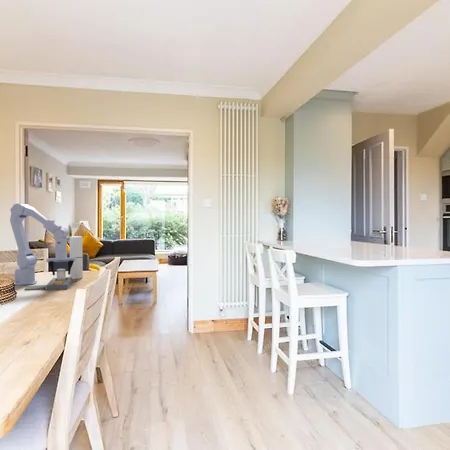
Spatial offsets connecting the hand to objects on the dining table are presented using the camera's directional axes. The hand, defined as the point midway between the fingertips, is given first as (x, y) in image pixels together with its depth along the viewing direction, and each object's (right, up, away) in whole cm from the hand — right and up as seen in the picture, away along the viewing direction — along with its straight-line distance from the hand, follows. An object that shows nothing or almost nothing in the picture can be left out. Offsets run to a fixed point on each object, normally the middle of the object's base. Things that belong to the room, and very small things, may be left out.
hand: (61, 274), depth 199 cm
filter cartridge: (0, -5, 0) cm, 5 cm away
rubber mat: (-8, -5, -12) cm, 15 cm away
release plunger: (+4, -5, -11) cm, 13 cm away
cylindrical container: (0, -5, +19) cm, 20 cm away
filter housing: (+1, -5, -5) cm, 7 cm away
